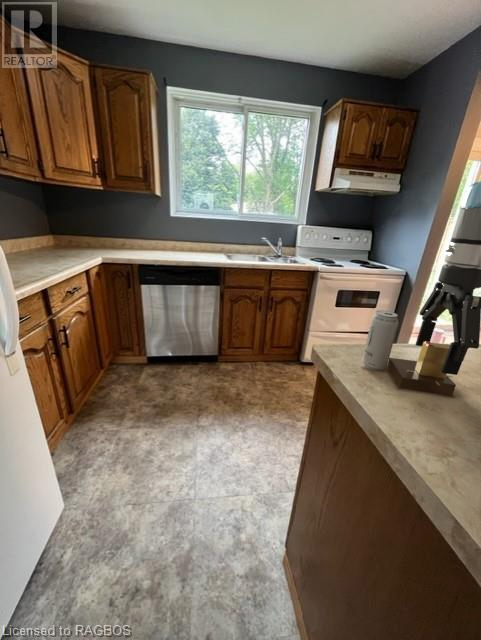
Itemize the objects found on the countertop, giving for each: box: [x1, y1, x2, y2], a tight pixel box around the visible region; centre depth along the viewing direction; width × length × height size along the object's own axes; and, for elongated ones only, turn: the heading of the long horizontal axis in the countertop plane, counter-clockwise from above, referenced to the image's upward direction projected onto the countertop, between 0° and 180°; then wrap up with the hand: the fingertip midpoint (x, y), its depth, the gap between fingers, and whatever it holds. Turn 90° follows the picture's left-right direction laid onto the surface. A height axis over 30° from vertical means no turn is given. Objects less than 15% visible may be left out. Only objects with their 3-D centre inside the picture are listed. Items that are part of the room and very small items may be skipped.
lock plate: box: [386, 357, 457, 397], centre depth 65 cm, size 12×11×3 cm
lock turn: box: [415, 341, 451, 378], centre depth 63 cm, size 6×2×8 cm, turn 78°
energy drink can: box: [361, 310, 399, 372], centre depth 70 cm, size 6×6×15 cm
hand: (433, 358), depth 63 cm, fingers open, 13 cm apart
